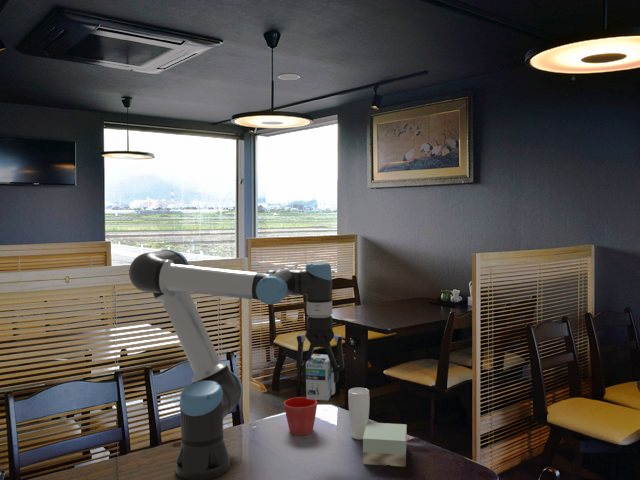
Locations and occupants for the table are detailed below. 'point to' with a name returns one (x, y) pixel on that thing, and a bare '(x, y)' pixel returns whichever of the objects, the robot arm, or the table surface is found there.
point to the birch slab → (384, 459)
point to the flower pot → (300, 415)
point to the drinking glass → (358, 411)
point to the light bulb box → (318, 377)
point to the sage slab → (385, 438)
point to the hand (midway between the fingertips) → (320, 392)
